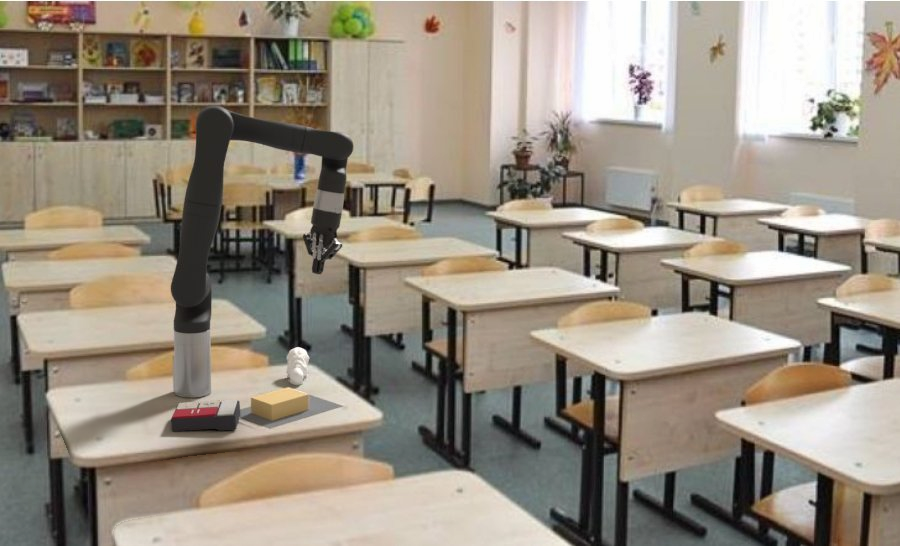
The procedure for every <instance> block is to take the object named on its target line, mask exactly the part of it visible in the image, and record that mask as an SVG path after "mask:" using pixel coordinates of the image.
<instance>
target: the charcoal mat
mask: <svg viewBox="0 0 900 546" xmlns="http://www.w3.org/2000/svg"><path fill="white" fill-rule="evenodd" d="M342 407H343V405H342V404H339V403H335V402H333V401H330V400H327V399H324V398H320V397H318V396H316V395H315V396H314V395H312V394H309V410H306V411H302V412H299V413H296V414H292V415H289V416H286V417H282V418H279V419H276V420H269V419H266V418H264V417H261V416H258V415H255V414H253V413H251V405H250V406H247V407H244V408H240V417H239V419H240V418H241V419H243V420H246V421H249V422H250V423H254V424H257V425H259V426H262V427H265V428H266V429H267V428H268V429H273V428H276V427H279V426H283V425H286V424H290V423H293V422H296V421H299V420H303V419H306V418H309V417H312V416H315V415H319V414H322V413H326V412H329V411H331V410H335V409H339V408H342Z"/></svg>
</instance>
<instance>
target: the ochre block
mask: <svg viewBox="0 0 900 546" xmlns="http://www.w3.org/2000/svg"><path fill="white" fill-rule="evenodd" d="M309 395H310V394H309V393H306V392H303V391H300V390H297V389H295V388H292V387H290V386H288V387H284V388H281V389H277V390H273V391H270V392H266V393H262V394H259V395H254V396H251V398H250V406H251V413H253V414H255V415H258V416H261V417H264V418H266V419H269V420H276V419H279V418H282V417H286V416H289V415H292V414H296V413H299V412H302V411H306V410H309Z"/></svg>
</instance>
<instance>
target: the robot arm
mask: <svg viewBox="0 0 900 546" xmlns="http://www.w3.org/2000/svg"><path fill="white" fill-rule="evenodd" d="M195 137H196V138H195V153H194V160H193V161H194V162H193V163H192V164H193V166H192V168H191V172H190V174H189V179H188V181H187V186H186V188H185V189H186V190H185V193H184V194H185V195H184V201H183V206H182V207H183V208H182V217H181V226H180V237H179V250H178V254H177V255H178V256H177V260H176V264H175V265H176V266H175V269H174V272H173V273H174V274H173V276H172V280H171V284H170V294H171V296H172V299H173V300H174V301H175V312H174V313H175V314H174V317H173V348H174V349H173V350H174V351H173V353H174V354H173V356H172V382H173V383H172V384H173V386H172V388H173V392H174V394H175V395H176V396H178V397H180V398H200V397H201V398H202V397H205V396H208V395H210V394H211V393H212V355H211V353H212V351H211V348H212V347H211V346H212V345H211V320H212V303H213V302H212V291H213V290H212V281H211V277H210V275H209V274H208V271H207V268H208V259H209V256H210V255H209V254H210V251H211V247H212V245H213V242H214V239H215V236H216V233H217V231H218V230H217V229H218V226H219V222H220V217H221V213H222V212H221V211H222V204H223V196H224V195H223V194H224V170H225V169H224V167H225V162H226V157H227V153H228V149H229V144H230V142H231V141H243V142H249V143H250V142H251V143H254V144H258V145H263V146H266V147H269V148H274V149H276V150H281V151H285V152H291V153H297V154H302V155H304V154H305V155H314V156H316V157H317V156H318V157H321V165H320V166H321V167H320V168H321V169H320V173H319V177H318V184H317V189H316V193H315V197H314V202H313V207H312V211H311V212H312V214H311V218H310V224H311V225H312V226H311V228H310V230H309V232H308V233H304V234H302V239H303V241H304V245H305V248H306V251H307V254H308V255H309V256H311V257H312V259H313V260H312V265H311V266H312V267H311V272H312V274H315V275H321V274H323V272H324V268H325V264H326V263H325V262H326V261H327V260H332V259H333V258H334V257H335V256H336V255H337V253H338V252H339V251H340V250H341V249H342V248H343V243H342V242H339V240H338V239H337V238H338V229H339V228H340V226H341V221H342V214H343V209H344V202H345V201H344V200H345V198H344V197H345V191H346V190H345V189H346V184H347V165H348V161H349V160H348V159H349V158H350V157H351V155H352V153H353V152H354V142H353V140H352V138H351V136H349V135H348V134H346V133H344V132H341V131H329V130H324V129H316V128H313V127H310V126H308V125H307V126H306V125H301V124H296V123H289V122H282V121H275V120H268V119H261V118H257V117H252V116H248V115H245V114H240V113H238V112H235V111H232V110H229V109H227V108H225V107H223V106H221V105H216V104H215V105H214V104H211V105H208V106H205V107H204V108H202V109H201V110H200V112H198V114H197V115H196V121H195Z"/></svg>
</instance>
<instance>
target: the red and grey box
mask: <svg viewBox="0 0 900 546" xmlns="http://www.w3.org/2000/svg"><path fill="white" fill-rule="evenodd" d="M240 406H241V405H240V400H237V399H229V400H227V399H226V400H222V401H221V400H220V399H219V400H204V401H187V402H179V403H178V404H177V406H176V407H175V410H174V412H173V414H172V416H171V418H170V426H171V432H183V431H186V432H187V431H197V430H198V431H199V430H215V429H217V430H219V431H220V432H221V431H234V430H236V429H237V427H238V424H239V421H240V409H241V407H240Z"/></svg>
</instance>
